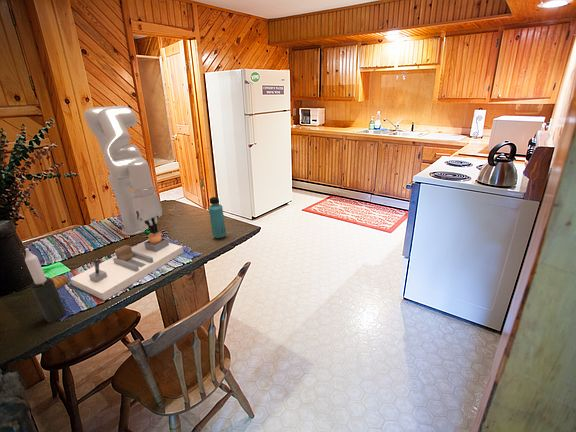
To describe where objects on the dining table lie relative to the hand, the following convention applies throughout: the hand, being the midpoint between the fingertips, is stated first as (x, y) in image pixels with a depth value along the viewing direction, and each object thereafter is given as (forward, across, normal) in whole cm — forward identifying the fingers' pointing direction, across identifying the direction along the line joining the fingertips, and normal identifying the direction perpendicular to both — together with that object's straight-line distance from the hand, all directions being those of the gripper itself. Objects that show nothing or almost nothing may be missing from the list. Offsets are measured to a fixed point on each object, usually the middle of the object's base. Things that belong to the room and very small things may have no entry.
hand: (154, 232), depth 131 cm
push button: (+5, 0, 0) cm, 5 cm away
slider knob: (+7, +13, -3) cm, 15 cm away
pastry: (+10, +35, -16) cm, 40 cm away
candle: (+10, +43, +3) cm, 44 cm away
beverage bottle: (+10, -23, +15) cm, 29 cm away
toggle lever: (+5, +26, 0) cm, 26 cm away
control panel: (+10, +13, 0) cm, 16 cm away
